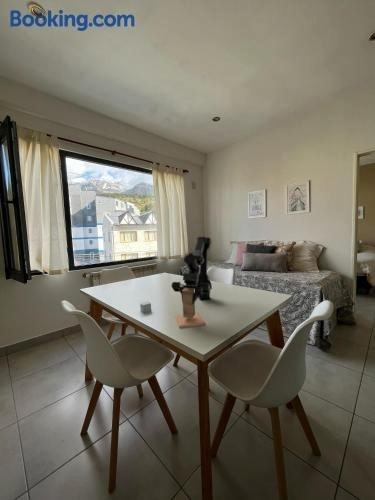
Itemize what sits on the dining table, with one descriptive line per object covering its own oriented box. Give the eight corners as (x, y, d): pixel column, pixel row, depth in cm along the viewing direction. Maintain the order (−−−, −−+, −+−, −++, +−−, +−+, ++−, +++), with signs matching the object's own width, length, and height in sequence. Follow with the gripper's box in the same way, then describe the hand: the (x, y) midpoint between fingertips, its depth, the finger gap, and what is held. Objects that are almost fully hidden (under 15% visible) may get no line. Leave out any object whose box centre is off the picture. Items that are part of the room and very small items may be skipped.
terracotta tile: (198, 314, 105) (198, 312, 105) (205, 324, 93) (205, 322, 93) (175, 317, 103) (175, 315, 102) (179, 327, 91) (179, 325, 91)
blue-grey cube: (148, 308, 116) (147, 301, 115) (151, 311, 112) (150, 303, 111) (140, 310, 113) (140, 302, 113) (143, 313, 109) (142, 305, 109)
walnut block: (186, 313, 100) (185, 287, 99) (195, 314, 99) (194, 288, 98) (183, 317, 96) (182, 290, 95) (192, 318, 95) (191, 290, 94)
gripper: (171, 266, 102) (164, 294, 93) (208, 266, 96) (204, 296, 87) (177, 277, 110) (171, 304, 101) (212, 278, 105) (208, 307, 95)
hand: (187, 303), depth 96 cm, fingers closed on walnut block, 4 cm apart
